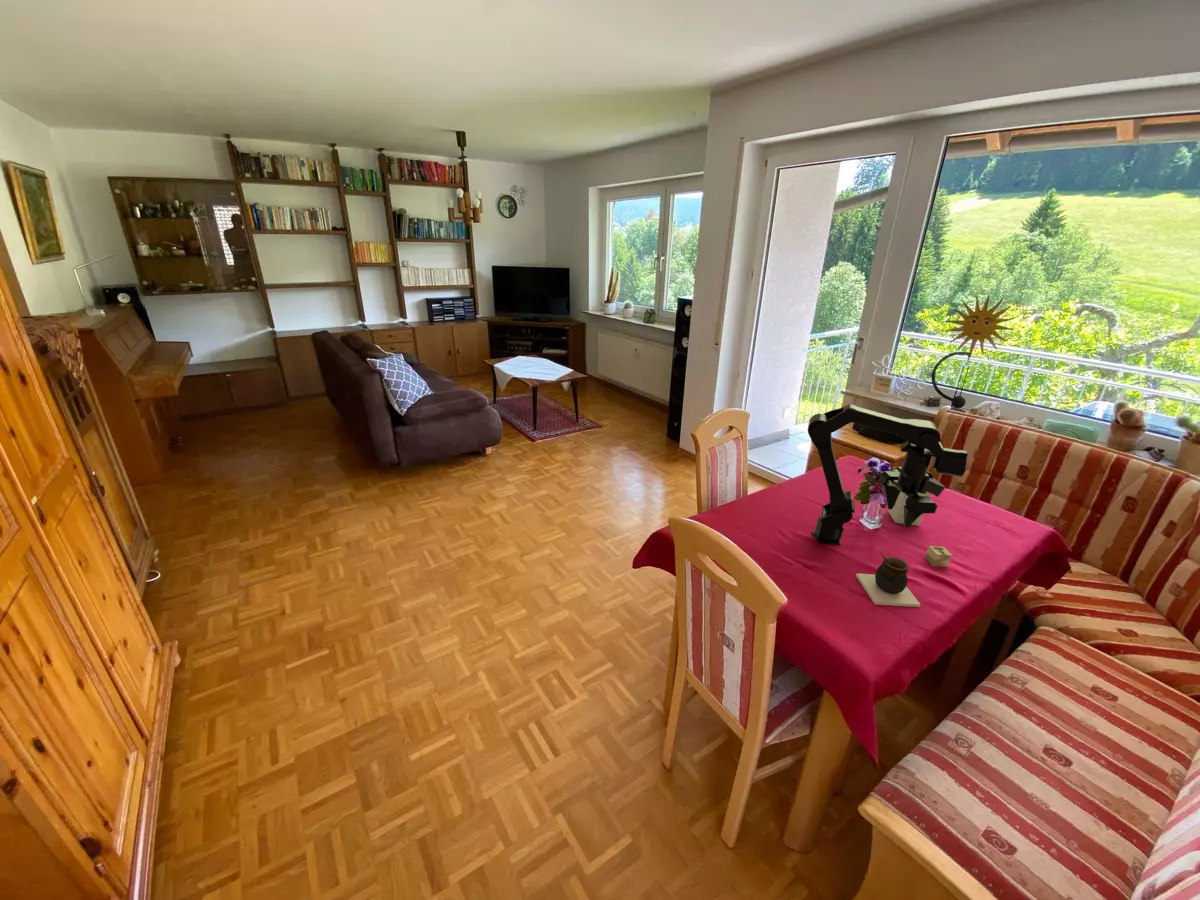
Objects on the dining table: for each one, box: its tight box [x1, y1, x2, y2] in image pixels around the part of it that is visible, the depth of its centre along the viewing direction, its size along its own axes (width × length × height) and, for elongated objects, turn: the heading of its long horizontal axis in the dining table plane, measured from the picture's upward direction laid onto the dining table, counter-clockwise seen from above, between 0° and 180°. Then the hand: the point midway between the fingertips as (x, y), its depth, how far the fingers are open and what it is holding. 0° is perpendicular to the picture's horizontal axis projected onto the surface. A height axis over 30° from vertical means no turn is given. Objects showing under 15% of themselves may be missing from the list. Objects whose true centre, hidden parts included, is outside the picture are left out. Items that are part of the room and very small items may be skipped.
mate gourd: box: [874, 552, 910, 595], centre depth 125 cm, size 7×8×10 cm
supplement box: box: [888, 491, 931, 527], centre depth 157 cm, size 7×7×13 cm
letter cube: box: [924, 545, 953, 568], centre depth 138 cm, size 4×4×4 cm
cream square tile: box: [855, 573, 921, 608], centre depth 127 cm, size 11×11×1 cm
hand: (898, 517), depth 137 cm, fingers open, 9 cm apart
